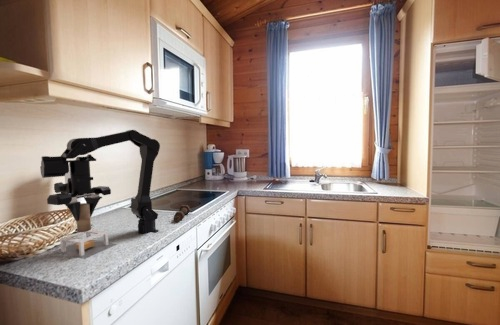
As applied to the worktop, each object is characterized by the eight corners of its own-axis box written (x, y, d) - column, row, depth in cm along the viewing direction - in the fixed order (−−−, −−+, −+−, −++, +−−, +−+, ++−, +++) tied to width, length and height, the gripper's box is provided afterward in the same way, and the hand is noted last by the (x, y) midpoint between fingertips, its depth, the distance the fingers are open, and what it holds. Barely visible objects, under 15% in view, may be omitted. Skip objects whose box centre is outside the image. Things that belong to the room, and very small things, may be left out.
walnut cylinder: (85, 227, 90) (84, 203, 89) (93, 228, 88) (92, 204, 88) (74, 231, 86) (72, 205, 85) (82, 232, 85) (81, 206, 84)
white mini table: (86, 241, 96) (85, 227, 96) (117, 246, 91) (116, 232, 90) (52, 254, 85) (51, 238, 85) (85, 261, 79) (84, 244, 79)
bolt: (175, 226, 118) (184, 216, 133) (184, 221, 118) (192, 211, 133) (168, 216, 117) (178, 207, 132) (177, 211, 117) (186, 202, 132)
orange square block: (87, 243, 90) (86, 239, 90) (94, 245, 89) (94, 241, 89) (75, 248, 87) (75, 244, 86) (84, 249, 85) (83, 245, 85)
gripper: (89, 171, 97) (92, 210, 98) (34, 177, 80) (38, 224, 81) (110, 172, 93) (113, 212, 95) (57, 178, 76) (60, 228, 77)
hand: (83, 219), depth 87 cm, fingers closed on walnut cylinder, 4 cm apart
